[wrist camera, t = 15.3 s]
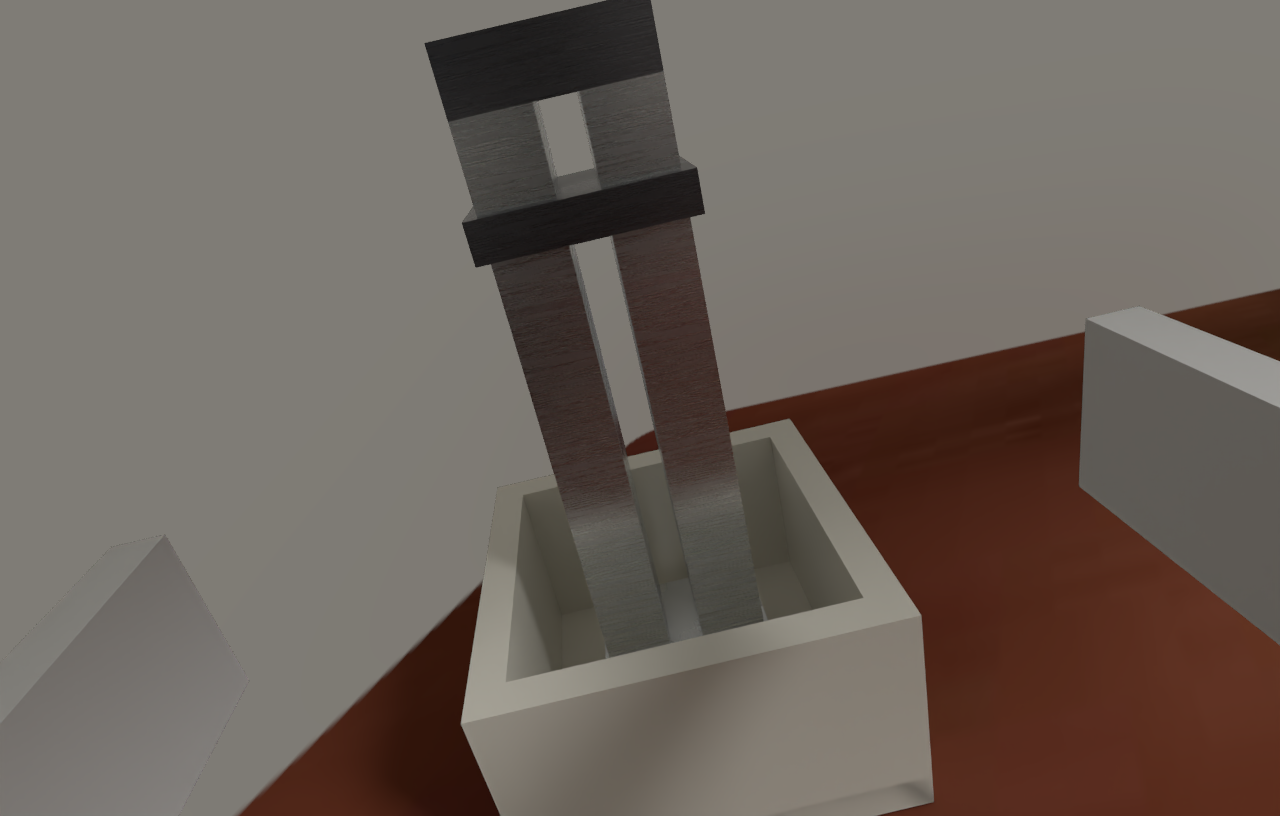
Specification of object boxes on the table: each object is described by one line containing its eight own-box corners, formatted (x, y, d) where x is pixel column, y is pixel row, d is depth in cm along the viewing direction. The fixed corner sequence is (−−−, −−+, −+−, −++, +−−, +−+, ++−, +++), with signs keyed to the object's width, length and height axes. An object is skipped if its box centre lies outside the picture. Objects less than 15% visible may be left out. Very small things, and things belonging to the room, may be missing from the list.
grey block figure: (755, 608, 27) (642, 5, 19) (792, 711, 22) (667, -17, 14) (614, 641, 27) (440, 52, 19) (624, 751, 22) (403, 45, 14)
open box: (809, 560, 30) (789, 418, 27) (934, 802, 20) (921, 615, 17) (543, 623, 30) (497, 487, 27) (535, 896, 20) (461, 723, 17)
